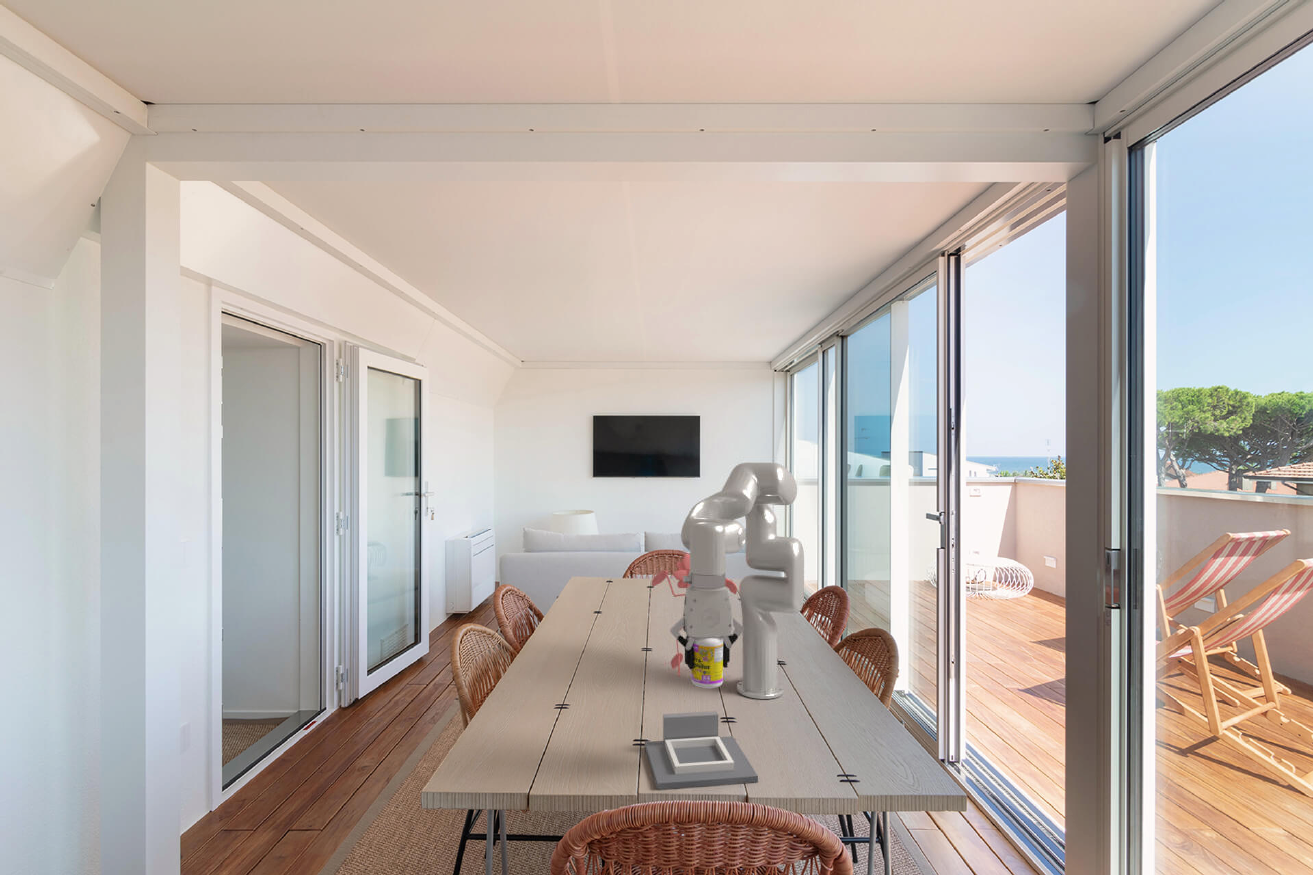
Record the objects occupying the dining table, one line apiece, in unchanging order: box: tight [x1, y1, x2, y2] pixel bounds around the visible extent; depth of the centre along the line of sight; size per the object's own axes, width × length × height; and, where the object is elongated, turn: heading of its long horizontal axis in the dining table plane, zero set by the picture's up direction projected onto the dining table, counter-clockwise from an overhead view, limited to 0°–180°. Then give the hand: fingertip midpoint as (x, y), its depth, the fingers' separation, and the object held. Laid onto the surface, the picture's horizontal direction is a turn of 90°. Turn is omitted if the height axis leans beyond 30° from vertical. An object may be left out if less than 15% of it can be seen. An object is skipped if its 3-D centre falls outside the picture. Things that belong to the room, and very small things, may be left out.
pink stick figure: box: [651, 553, 738, 677], centre depth 192 cm, size 15×26×35 cm, turn 89°
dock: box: [644, 710, 759, 791], centre depth 131 cm, size 18×20×7 cm
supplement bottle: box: [690, 637, 724, 689], centre depth 132 cm, size 7×7×13 cm
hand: (707, 665), depth 132 cm, fingers closed on supplement bottle, 6 cm apart
